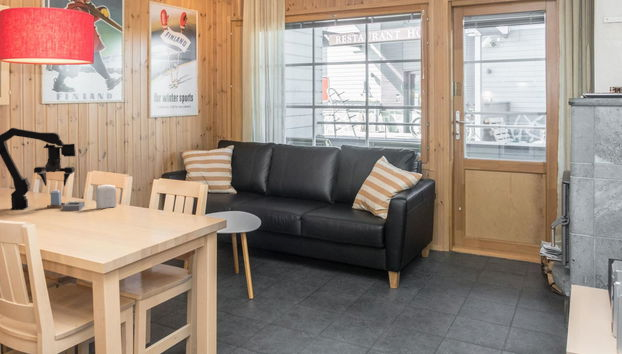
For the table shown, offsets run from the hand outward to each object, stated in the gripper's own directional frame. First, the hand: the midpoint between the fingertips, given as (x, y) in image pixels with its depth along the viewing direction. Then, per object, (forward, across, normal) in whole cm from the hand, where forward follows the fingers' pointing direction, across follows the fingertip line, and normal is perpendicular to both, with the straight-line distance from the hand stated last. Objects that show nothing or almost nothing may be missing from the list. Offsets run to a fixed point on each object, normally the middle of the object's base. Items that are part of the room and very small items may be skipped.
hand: (55, 185), depth 270 cm
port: (+11, +10, -5) cm, 16 cm away
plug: (+11, 0, 0) cm, 11 cm away
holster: (+11, +1, +4) cm, 12 cm away
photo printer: (+11, +26, -4) cm, 29 cm away
